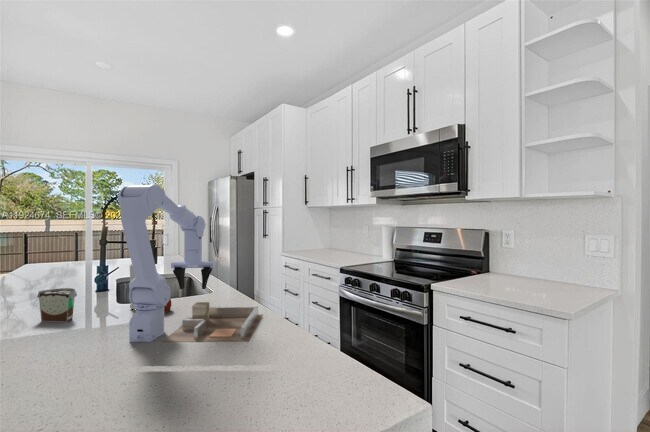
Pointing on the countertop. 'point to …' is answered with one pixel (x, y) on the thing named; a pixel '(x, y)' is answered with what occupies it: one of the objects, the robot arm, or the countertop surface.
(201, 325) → the channel walls
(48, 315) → the food container
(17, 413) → the countertop surface
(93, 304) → the countertop surface
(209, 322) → the walnut board
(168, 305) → the fruit
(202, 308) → the maple block
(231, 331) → the pad
